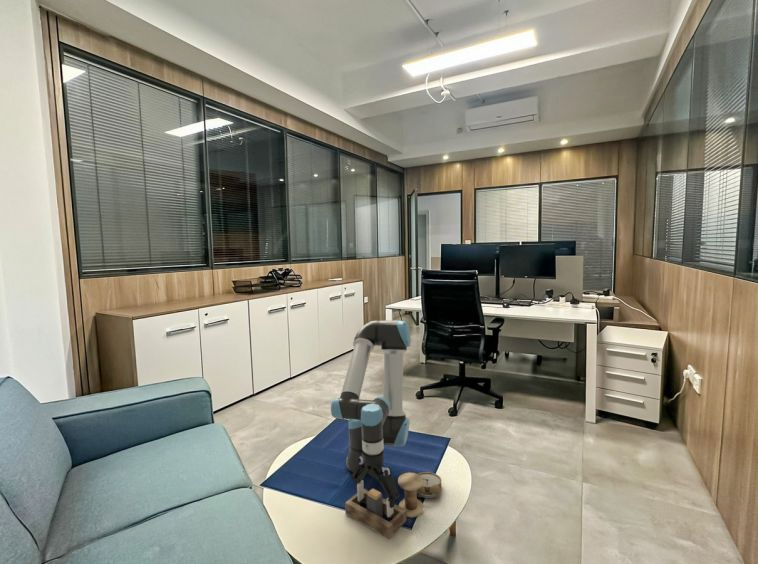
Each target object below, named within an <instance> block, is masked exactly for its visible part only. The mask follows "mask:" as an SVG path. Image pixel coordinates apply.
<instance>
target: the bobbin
mask: <svg viewBox="0 0 758 564" xmlns="http://www.w3.org/2000/svg"><path fill="white" fill-rule="evenodd" d="M397 484H398V486H399V487H400V488H401V489H403V490H404V498H403V499H402V500H401V501H399V504H398V506H399V507H401V508H403V509H405V510H406V518H416V517H419V516H420V515H422V514H423V512H424V503H423V502H422V501H421V500H420V499H418V496H417V489H419V488H421V487H422V485H423V479H422V477H421V476H420V475H418V473H416V472H405V473H402V474H400V475H399V476H398V478H397Z"/></svg>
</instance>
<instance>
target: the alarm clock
mask: <svg viewBox="0 0 758 564" xmlns="http://www.w3.org/2000/svg"><path fill="white" fill-rule="evenodd" d="M417 474H418V475H420V476H421V477H422V479H423V485H422V487H421V488H419V489H417V498H418V497H419V498H425V499H432V498H433V499H436V498H438V497H439V496H440V495H441V492H442V489H443V488H442V478H441V476H440V475H438V474H436V473H433V472H428V471H422V472H419V473H417Z"/></svg>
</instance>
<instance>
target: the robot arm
mask: <svg viewBox="0 0 758 564" xmlns="http://www.w3.org/2000/svg"><path fill="white" fill-rule="evenodd" d="M352 346H353V351H352V354H351V357H350V361H349V365H348V369H347V372H346V374H345V379H344V382H343V386H342V389H341V393H340V396H339V397H335V398H333V400H332V401H331V405H330V414H331V416H332V418H334V419H340V420H348V439H349V441H348V443H349V449H348V451H347V452H348V453H347V457H346V459H345V462H346V463H345V464H346V469H347V470H348V471H350V473H351V472H352V474H351V477H350V479H351V480H352V481H353V480H354V482H355V490H356V494H357V497H358V501H361V500H362V499H363V498H364V489H365V488H364V487H365V486H364V480H363V479H364V478H365V477H366V475H367V474H368V476H371V477H373V478H375V480H376V481H377V482H378V483H379V484H380V485H381V488H382V489H383V491H384V493H385V494H386V496H387V498H386V500H387V515H386V517H387V518H389V519H390V518H391V517H390V516H391V515H392V514H393V513H394V512H393V507H394V506H395V504H396V502H395V501H396V500H397V499H398V498H399V497H400V496H401V495H400V493H399V490H398V488H397V485H396V482H395V480H394V476H393V474H392V468H391V467H390V466H389V467H384V460H385V456H384V455H385V454H384V453H385V451H384V449H385V448H384V446H385V447H386V446H389V447H394V448H395V447H404V446H405V445H406V443H407V440H408V436H409V430H410V419H409V418H408V417H407V416H406V414H407V413H406V412H405V411H404V410H403V398H404V397H403V395H404V394H403V393H404V392H403V391H404V389H403V388H404V384H403V383H404V354H405V353H406V352H407V350H408V347H410V346H411V332H410V327H409V324H408V322H407V321H405V320H396V319H395V320H393V319H392V320H378V319H377V320H371V321H369V322H367V323H365V324H364V325H363V326H362V327H361V328H360V329H359V330H358V331H357V333H356V335H355V336H354V338H353V342H352ZM376 346H377V347H378V346H379V347H380V346H381V348H380V350H381V352H382V353H383V354H384V357H383V358H384V359H383V360H384V361H383V394H382V395H383V396H377V397H376V398H373V399H360V396H361V393H362V388H363V384H364V382H365V381H364V380H365V376H366V372H367V368H368V363H369V360H370V356H371V352H372V351H373V350H374V349H375V347H376Z"/></svg>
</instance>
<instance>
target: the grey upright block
mask: <svg viewBox="0 0 758 564" xmlns="http://www.w3.org/2000/svg"><path fill="white" fill-rule="evenodd" d="M368 491H369V492H368V496H367V504H366V509H367V510H369V511H370V512H372V513H374V514H376V515H378V516H380V517H381V518H383V517H384V513H383V500H382V498H383V494H382V492H380V491H379V490H377V489H375V488H371V489H370V490H368Z"/></svg>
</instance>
